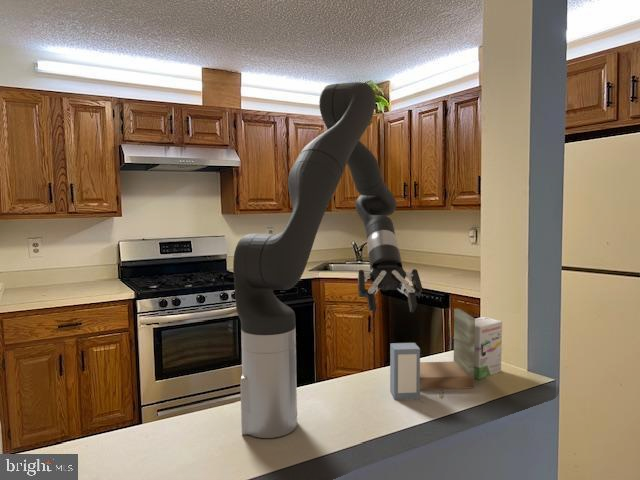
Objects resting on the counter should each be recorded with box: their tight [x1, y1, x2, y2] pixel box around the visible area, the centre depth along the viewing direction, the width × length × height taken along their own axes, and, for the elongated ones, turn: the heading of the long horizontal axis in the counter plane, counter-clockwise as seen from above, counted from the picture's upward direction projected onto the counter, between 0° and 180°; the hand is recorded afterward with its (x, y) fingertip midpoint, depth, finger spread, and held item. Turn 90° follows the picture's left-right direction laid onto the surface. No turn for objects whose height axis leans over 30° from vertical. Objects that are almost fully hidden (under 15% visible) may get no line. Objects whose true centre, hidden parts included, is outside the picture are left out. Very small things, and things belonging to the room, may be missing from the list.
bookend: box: [420, 308, 476, 391], centre depth 99 cm, size 12×9×14 cm
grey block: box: [389, 342, 421, 401], centre depth 92 cm, size 5×4×10 cm
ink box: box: [474, 316, 503, 380], centre depth 104 cm, size 8×5×12 cm, turn 126°
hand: (393, 310), depth 102 cm, fingers open, 8 cm apart
